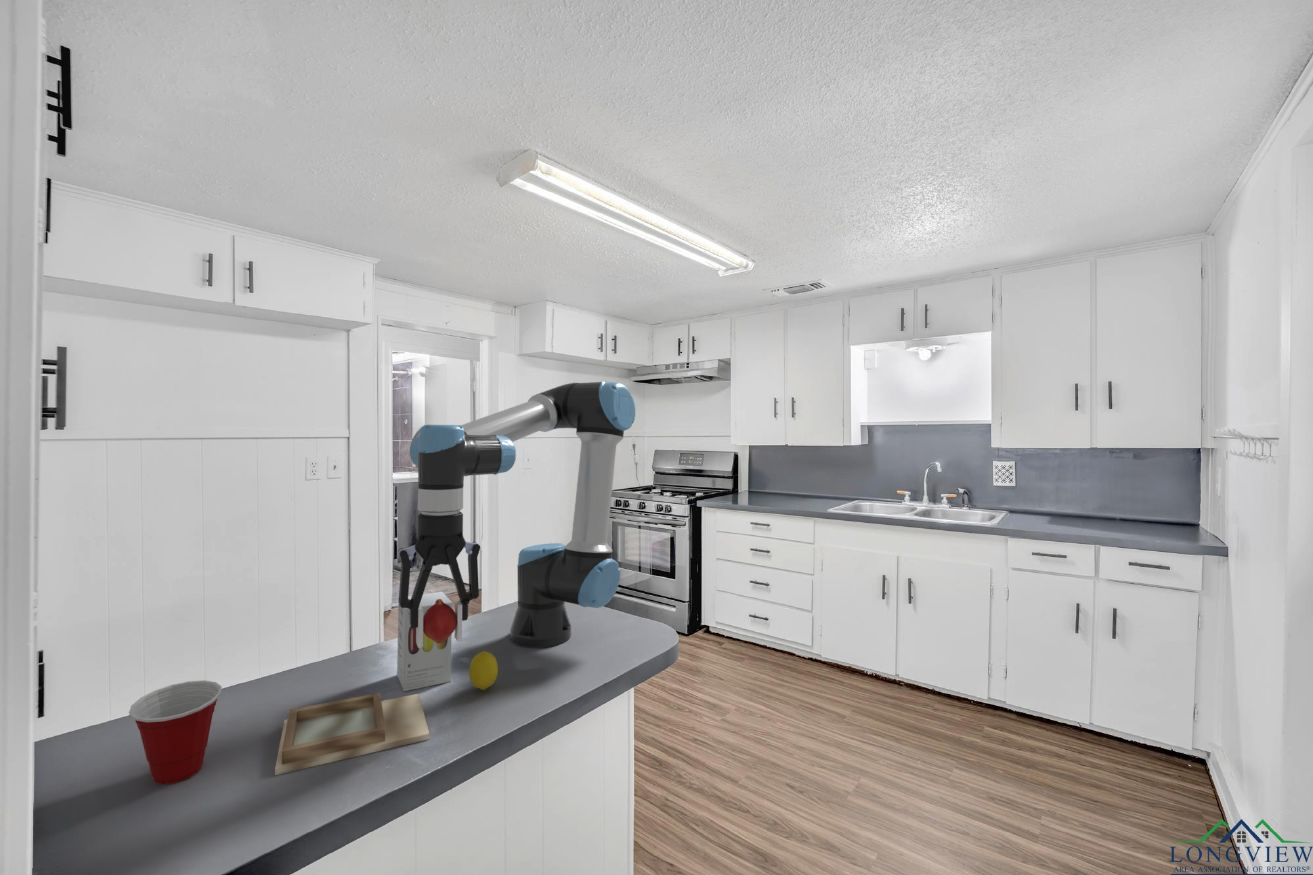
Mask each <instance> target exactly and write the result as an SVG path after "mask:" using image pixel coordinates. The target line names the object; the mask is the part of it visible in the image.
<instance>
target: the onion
mask: <svg viewBox="0 0 1313 875" xmlns="http://www.w3.org/2000/svg"><path fill="white" fill-rule="evenodd" d="M456 624H457V619H456V615H455V609H453V607H452V608H451V607H450V606H448V605H447V604H445V603H443V601H442V599H437V600H436V602H435V604H434V605H433V606H431V607H430V608H429V609H428V610H427V611H426V613H425V614H424V616H423V632H424V634H425V635H426V636H427V637H428V638H430V639H432V640H433V641H435V642H436V643H438V644H440V643H443V642H444V641H445V640H446V639H447V638H448V637H449V636H450V635H451V634H452V635H453V633H455V628H456Z"/></svg>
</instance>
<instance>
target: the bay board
mask: <svg viewBox="0 0 1313 875" xmlns="http://www.w3.org/2000/svg"><path fill="white" fill-rule="evenodd" d="M281 731H282V732H281V736H280V737H281V738H280V742H279V746H278V753H277V757H276V763H275V767H274V774H275V775H274V776H278V775H282V774H285V773H286V774H287V773H290V772H295V771H299V770H303V769H308V768H312V767H316V766H320V765H321V766H322V765H325V764H329V763H335V762H338V761H341V760H347V759H350V758H355V757H359V756H363V755H367V754H372V753H377V752H380V751H384V750H388V749H394V748H398V747H402V746H406V745H409V744H414V743H420V742H423V741H428V740H430V731H429V727H428V723H427V720H426V716H425V712H424V708H423V705H422V701H421V697H420V693H415V694H410V695H405V696H404V695H403V696H399V697H394V698H390V699H389V698H388V699H384V700H382V696H381V692H376V693H370V694H365V695H361V696H355V697H349V698H345V699H341V700H340V699H339V700H334V701H329V702H325V703H318V704H313V705H308V706H302V707H298V708H292V709H291V708H290V709H289V712H288V717H287V719H284V721H283V727H282V730H281Z"/></svg>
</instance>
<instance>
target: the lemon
mask: <svg viewBox="0 0 1313 875" xmlns="http://www.w3.org/2000/svg"><path fill="white" fill-rule="evenodd" d="M498 674H499V665H498V662H497V658H496V657H495V656H494V655H493V653H491V652H489V651H486V650H483V651H481V652H479V653H477V654H476V655H475V656H473V659H472V660H471V662H470V665H469V674H468V675H469V679H470V682H471V684H472V685H473V687H474V688H477V689H480V690H481V691H486V690H487V689H488V688H490V687H491V686H492V685H493V684H494V683H495V682H496V681H497V678H498Z"/></svg>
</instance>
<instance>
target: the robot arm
mask: <svg viewBox="0 0 1313 875" xmlns="http://www.w3.org/2000/svg"><path fill="white" fill-rule="evenodd" d="M634 400H635V399H634V398H633V396H632V393H631V392H630V390H629V388H627V386H625V385H624V384H623V383H620V382H617V381H616V382H613V381H595V382H593V381H592V382H571V383H566V384H561V385H559V386H556V387H553V388H550V389H547V390H545V391H542V392H540V393H536V394H533V395H531V397H530V398H529V399H528V400H527V401H526V402H524V403H519V404H518V405H515V406H512V407H509V408H507V409H504V410H501V411H497V412H495V413H492V414H489V415H485V416H483V417H480V418H477V419H475V420H472V421H469V422H466V423H463V424H424V425H422V426H421V427H420V429H419V433H418V435H417V436H416V437H415V438H413V440H412V442H411V443H410V446H409V457H410V460H411V462H412V463H413V465H414V466H415V467H417V469H418V471H417V475H418V476H417V477H418V478H417V480H418V481H417V482H418V483H417V484H418V485H417V486H418V487H417V490H418V491H417V493H418V494H417V510H418V511H420V513H418V515H417V538H416V540H415V541H414V545H411V546H409V547H406V548H405V547H401V548H399V549H398V551H397V553H398V555H399V558H400V562H401V563H400V576H399V588H398V589H399V590H398V600H399V604H400V607H401V608H408V609H410V625H411V627H412V628H416V644H417V646H418V648H421V647H423V608H422V606H419V605H420V602H421V599H422V596H423V594H425V593H424V592H425V590H426V586H427V583H428V580H429V577H430V574H431V572H432V570H433V567H436V566H440V565H444V566H445V565H446V566H447V565H448V567H449V569H450V573H451V576H452V578H453V579H452V580H453V583H454V585H455V586H454V587H455V589H456V592H457V595H458V599H459V600H455V601H454V612H455V615H456V619H457V624H456V628H455V630H454V638H455V639H456V641H457V642H462V641H463V633H462V632H463V622H464V621H467V620H468V619H469V618H468V617H469V604H470V602H471V601H472V600H476V599H478V598H479V596H480V589H479V588H480V587H479V584H480V582H479V565H478V564H479V562H478V558H479V554H480V550H481V545H480V544H479V543H477V542H476V541H473V542H471V541H466V540H465V539H466V538H465V537H464V513H463V512H461V510H462V509H464V484H465V483H464V480H465V477H469V476H483V475H495V476H496V475H498V474H503V473H506V472H508V471H510V470H511V469H512V468H513V467H514V465H515V463H516V459H517V454H516V452H517V451H516V450H517V449H516V446H515V444H514V442H516V441H518V440H521V439H522V438H526V437H527V436H530V435H532V434H535V433H538V432H543V433H547V432H551V431H552V430H558V429H576V433H575V435H576V436H577V437H578V438H579V439H580V443H581V445H580V454H579V463H578V474H577V483H576V494H575V503H574V513H573V521H572V522H573V523H572V531H571V532H572V533H571V540H570V541H569V542H568V543H567V544H566V545H565V544H564V543H561V542H560V543H559V542H558V543H557V542H553V543H552V542H550V543H542V544H536V545H530V546H527V547H524V548H522V549H521V550H520V551H519V553H518V558H517V559H518V560H517V566H516V567H517V608H516V611H515V615H514V618H513V620H512V623H511V627H510V629H509V630H510V631H509V639H510V641H511V642H512V643H513V644H514V645H517V646H520V647H524V648H525V647H526V648H547V647H552V646H557V645H559V644H563V643H565V642H567V641H568V640H569V639H570V638H571V636H572V625H571V621H570V618H569V614H568V612H567V609H566V606H565V605H566V604H565V603H569V604H573V605H578V606H579V607H583V608H595V609H598V608H602V607H604V606H606V605H607V604H608V603H609V602H610V601H611V600H612V598H613V597H614V596H615V594H616V592H617V590H618V588H619V585H620V580H621V568H620V565H619V563H618V562H617V561H616V560H615V559H613V549H612V547H611V546H610V545H609V543H608V538H609V537H608V535H609V526H610V524H609V523H610V513H611V504H612V495H613V485H614V474H615V462H616V452H617V446H618V444H619V443H620V442H621V441H623V440H624V433H625V431H627V430H629V429H630V428H632V426H633V424H634V422H635V419H636V405H635V401H634ZM464 548H465V553H466V554H467V568H468V591H467V590H466V586H465V584H464V580H463V576H462V574H461V571H460V567H459V563H458V560H457V558H458V556H459V555H460V554H461V552H462V551H463V549H464ZM415 553H417V554H418V556H420V557H421V559H422V562H421V566H420V571H419V573H418V577H417V579H416V582H415V585H414V588H413V592H412V595H411V596H412V597H411V599H408V596H409V591H410V577H411V561H412V560H413V559H414V554H415Z"/></svg>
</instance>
